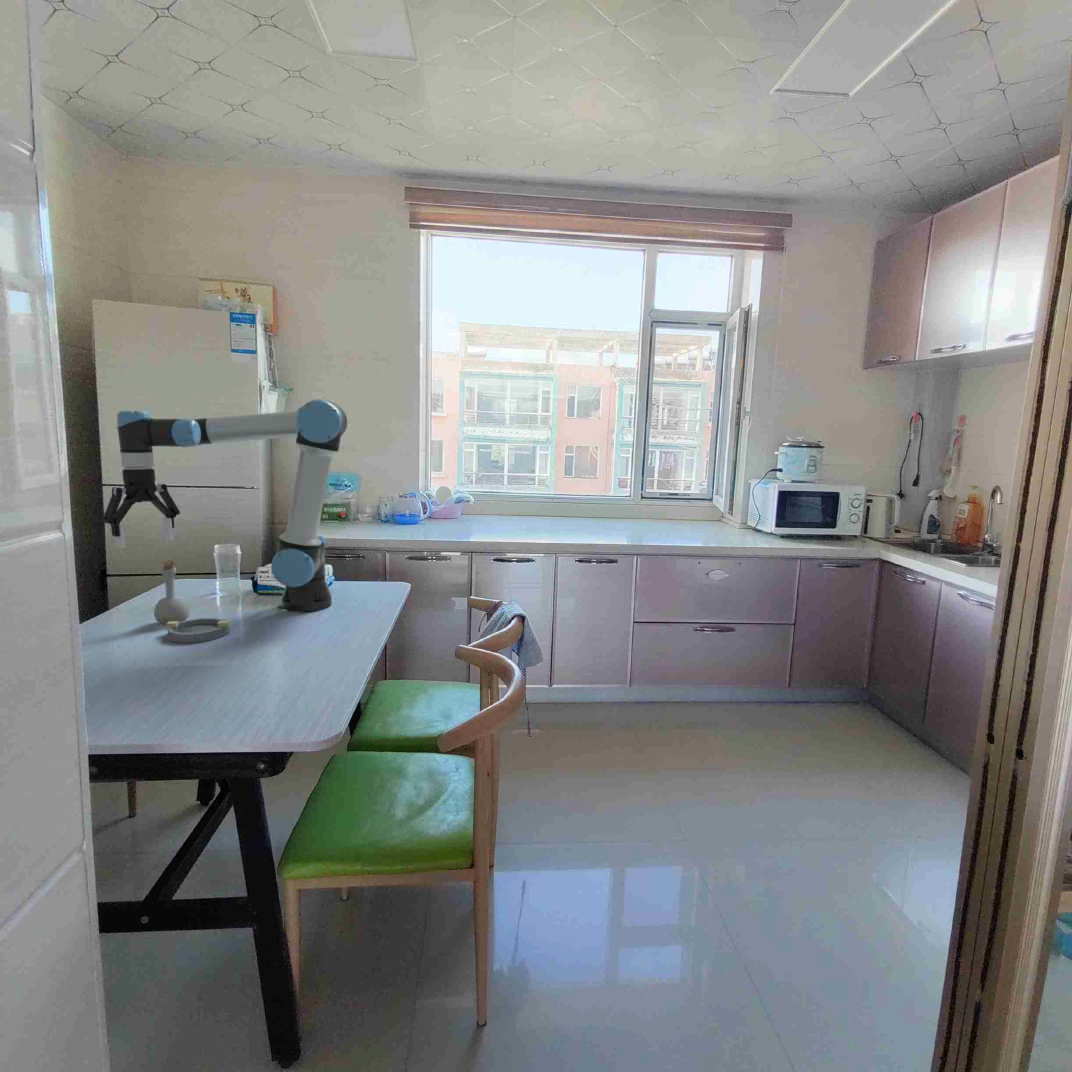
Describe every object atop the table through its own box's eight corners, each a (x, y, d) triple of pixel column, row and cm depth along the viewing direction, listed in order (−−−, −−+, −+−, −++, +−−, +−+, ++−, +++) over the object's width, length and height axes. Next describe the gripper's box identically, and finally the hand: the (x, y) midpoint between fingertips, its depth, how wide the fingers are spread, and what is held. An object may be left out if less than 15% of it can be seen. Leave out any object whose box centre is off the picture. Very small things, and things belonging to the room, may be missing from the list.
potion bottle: (197, 619, 179) (192, 558, 176) (176, 628, 171) (171, 565, 167) (169, 617, 180) (164, 557, 177) (147, 626, 171) (141, 563, 168)
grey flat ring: (238, 624, 175) (237, 613, 175) (218, 642, 161) (217, 630, 160) (181, 625, 173) (180, 614, 173) (155, 643, 159) (154, 631, 158)
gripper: (172, 465, 181) (178, 536, 185) (80, 470, 159) (90, 550, 163) (189, 466, 178) (195, 538, 182) (98, 471, 156) (107, 553, 159)
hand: (145, 544), depth 172 cm, fingers open, 13 cm apart
